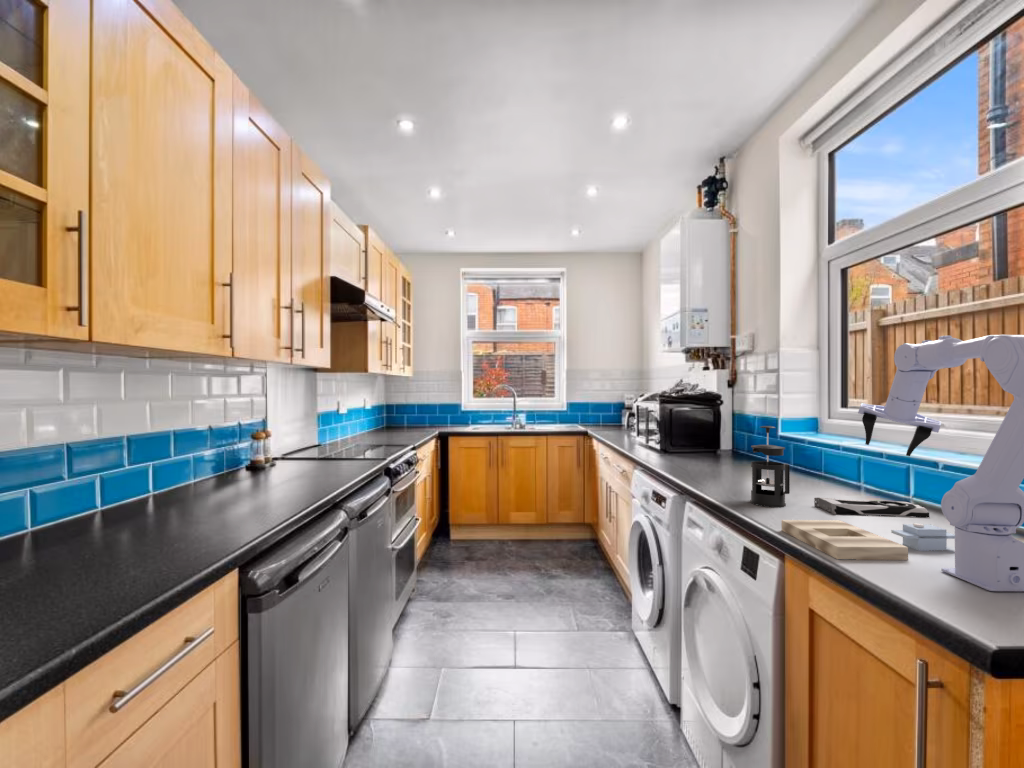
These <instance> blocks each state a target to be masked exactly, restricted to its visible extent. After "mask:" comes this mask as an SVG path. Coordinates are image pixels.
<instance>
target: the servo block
mask: <svg viewBox="0 0 1024 768" xmlns="http://www.w3.org/2000/svg"><path fill="white" fill-rule="evenodd" d="M890 531H891V532H890V533H891V534H893V535H896V536H898V537H901V538H902V545H904V546H906V547H908V548H911V549H913V550H916V551H926V552H927V551H929V550H931V552H932V550H934V551H935V550H942V552H943V550H947V545H948V544H947V539H949V540H951V539H954V540H955V533H951V532H948V531H947V529H946V528H943V527H939V526H936V525H935V524H924V523H923V524H922V523H915V522H914V523H912V524H911V523H908V524H907V523H903V524H902V529H893V530H892V529H891V530H890ZM934 551H933V552H934ZM947 551H948V550H947Z"/></svg>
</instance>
